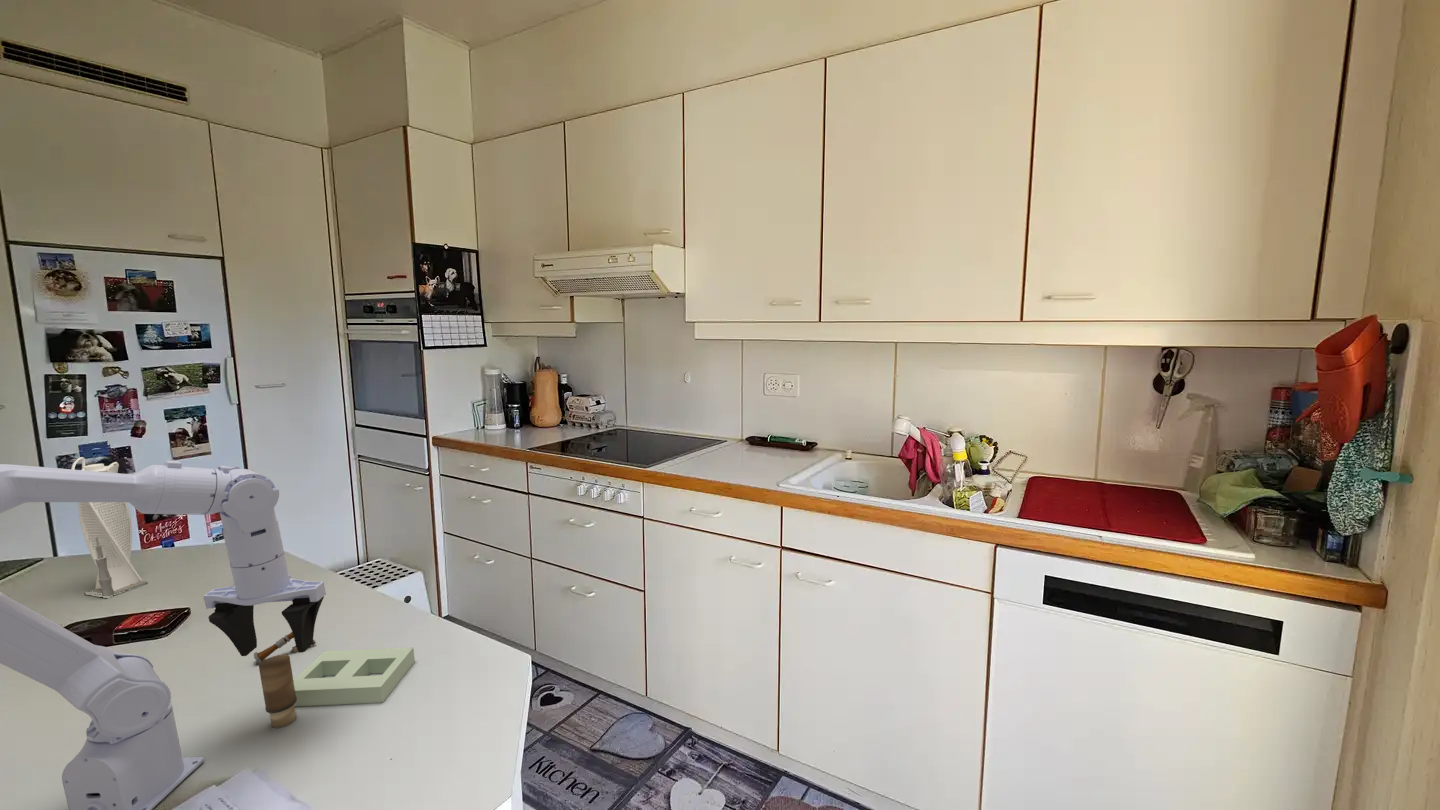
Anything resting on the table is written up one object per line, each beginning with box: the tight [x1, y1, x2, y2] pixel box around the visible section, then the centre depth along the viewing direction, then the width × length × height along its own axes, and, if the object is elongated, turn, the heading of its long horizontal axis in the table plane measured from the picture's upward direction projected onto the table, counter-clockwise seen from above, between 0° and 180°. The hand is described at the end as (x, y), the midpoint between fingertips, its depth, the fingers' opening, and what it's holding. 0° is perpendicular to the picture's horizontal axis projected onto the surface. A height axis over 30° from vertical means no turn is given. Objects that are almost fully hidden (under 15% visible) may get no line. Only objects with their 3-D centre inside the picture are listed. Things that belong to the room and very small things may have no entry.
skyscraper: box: [71, 456, 149, 596], centre depth 122 cm, size 8×8×28 cm
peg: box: [258, 654, 297, 729], centre depth 82 cm, size 4×4×9 cm
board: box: [293, 646, 416, 707], centre depth 91 cm, size 10×14×2 cm
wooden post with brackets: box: [253, 631, 316, 665], centre depth 99 cm, size 2×8×4 cm, turn 128°
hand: (277, 649), depth 82 cm, fingers open, 7 cm apart
